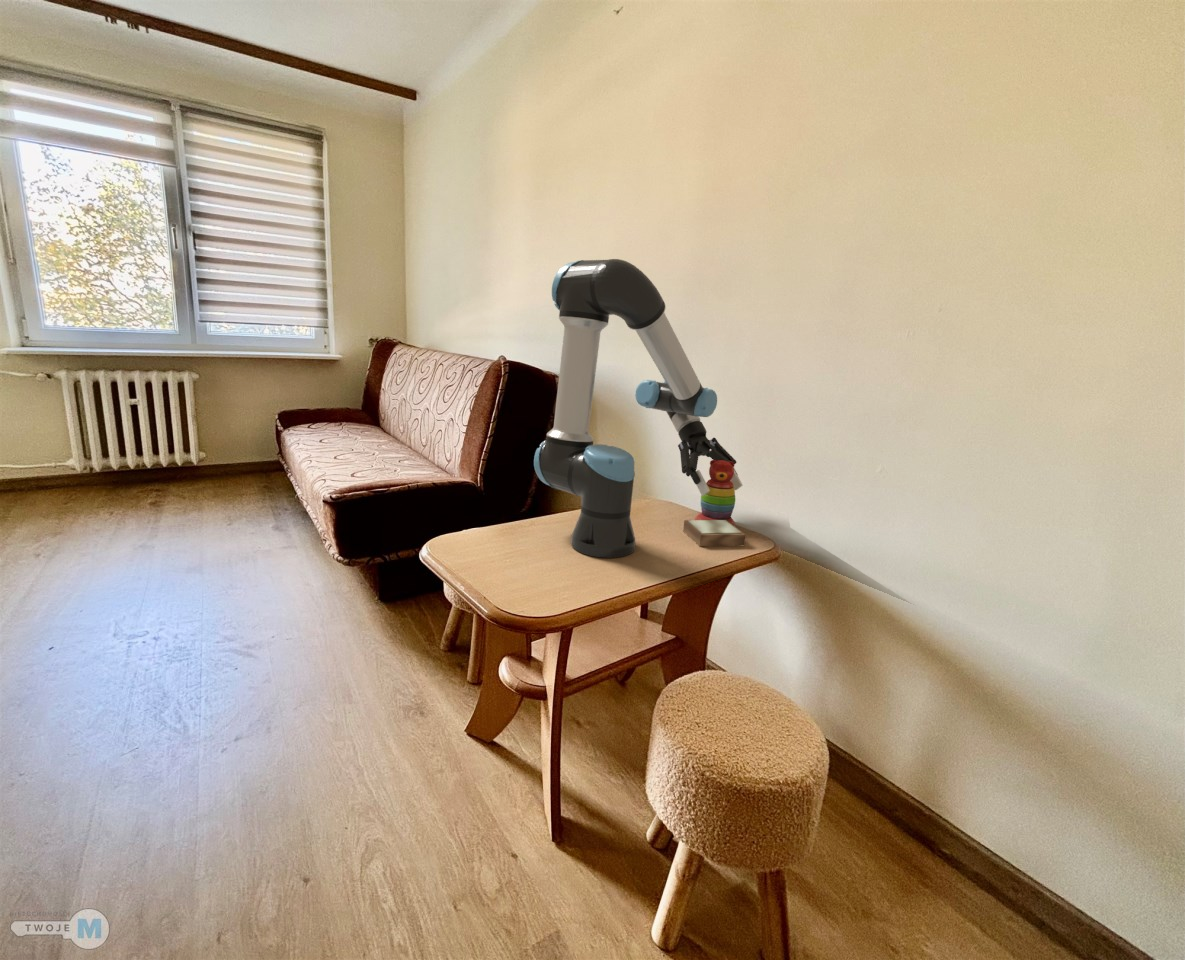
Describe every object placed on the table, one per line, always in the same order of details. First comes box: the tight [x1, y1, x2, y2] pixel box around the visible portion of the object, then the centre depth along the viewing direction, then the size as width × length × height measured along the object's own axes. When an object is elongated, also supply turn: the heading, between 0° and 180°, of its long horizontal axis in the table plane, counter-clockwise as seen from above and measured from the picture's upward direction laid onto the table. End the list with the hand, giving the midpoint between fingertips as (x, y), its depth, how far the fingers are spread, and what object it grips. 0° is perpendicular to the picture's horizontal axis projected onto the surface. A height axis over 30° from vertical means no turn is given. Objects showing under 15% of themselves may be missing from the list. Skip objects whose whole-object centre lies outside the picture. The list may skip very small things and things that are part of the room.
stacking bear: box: [694, 459, 736, 527], centre depth 151 cm, size 11×10×18 cm
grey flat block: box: [682, 519, 746, 548], centre depth 140 cm, size 12×11×3 cm
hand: (722, 490), depth 150 cm, fingers open, 13 cm apart
